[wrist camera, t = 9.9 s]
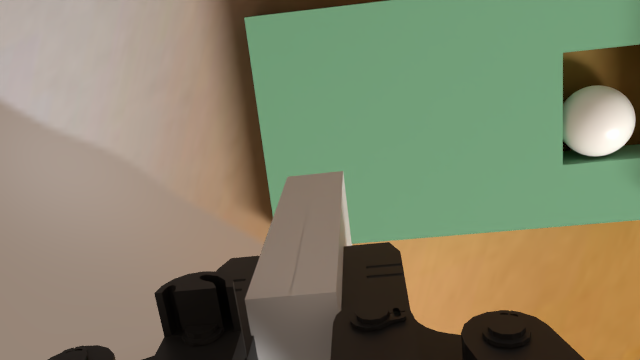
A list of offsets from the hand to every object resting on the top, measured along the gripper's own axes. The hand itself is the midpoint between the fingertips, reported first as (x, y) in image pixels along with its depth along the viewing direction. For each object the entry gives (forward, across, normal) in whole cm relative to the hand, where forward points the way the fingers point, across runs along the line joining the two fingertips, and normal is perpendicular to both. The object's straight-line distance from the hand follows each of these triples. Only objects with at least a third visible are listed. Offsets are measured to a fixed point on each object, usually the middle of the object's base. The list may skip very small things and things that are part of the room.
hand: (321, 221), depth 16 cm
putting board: (+17, +7, -1) cm, 18 cm away
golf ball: (+16, +12, -2) cm, 20 cm away
